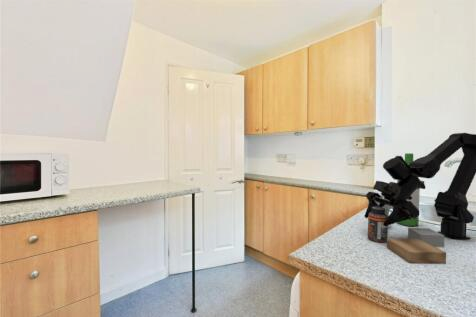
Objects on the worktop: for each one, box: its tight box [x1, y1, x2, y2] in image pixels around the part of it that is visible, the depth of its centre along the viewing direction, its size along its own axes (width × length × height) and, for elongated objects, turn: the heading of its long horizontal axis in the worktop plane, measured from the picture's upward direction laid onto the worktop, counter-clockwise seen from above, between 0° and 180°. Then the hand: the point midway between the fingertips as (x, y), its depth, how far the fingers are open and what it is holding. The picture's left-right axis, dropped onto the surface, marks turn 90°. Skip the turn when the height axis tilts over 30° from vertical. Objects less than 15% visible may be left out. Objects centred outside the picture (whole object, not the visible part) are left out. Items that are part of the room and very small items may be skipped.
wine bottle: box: [396, 152, 421, 227], centre depth 99 cm, size 8×8×30 cm
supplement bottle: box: [367, 207, 389, 243], centre depth 82 cm, size 6×6×11 cm
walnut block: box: [386, 238, 447, 264], centre depth 70 cm, size 10×10×3 cm
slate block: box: [407, 227, 445, 248], centre depth 80 cm, size 7×7×4 cm
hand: (374, 221), depth 82 cm, fingers open, 9 cm apart
